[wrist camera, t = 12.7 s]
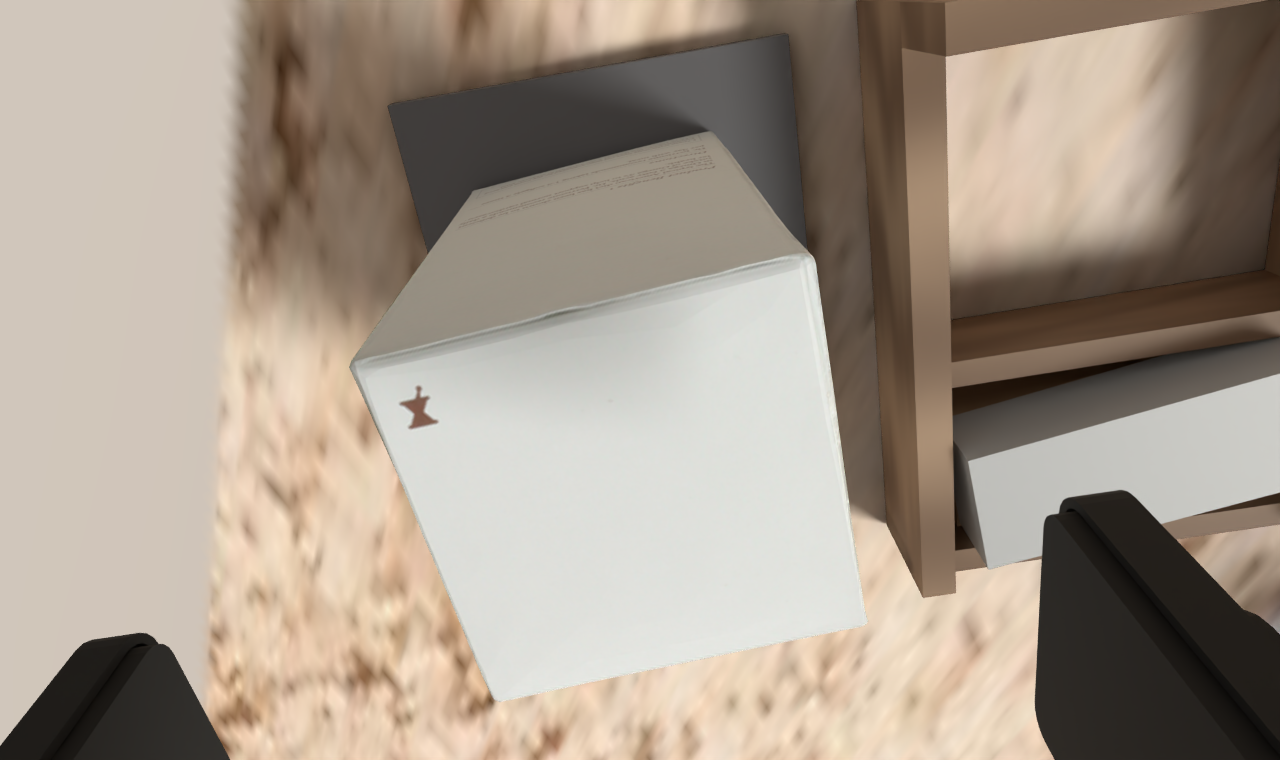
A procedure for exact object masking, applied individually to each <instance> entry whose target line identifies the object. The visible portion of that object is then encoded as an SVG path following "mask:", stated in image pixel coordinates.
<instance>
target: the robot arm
mask: <svg viewBox="0 0 1280 760" xmlns="http://www.w3.org/2000/svg"><path fill="white" fill-rule="evenodd" d="M1035 711H1036V717H1037V721H1038V725H1039V728H1040V731H1041V734H1042V736H1043V738H1044V740H1045V742H1046V744H1047V746H1048V748H1049V750H1050V752H1051V754H1052V755H1053V757H1054V759H1055V760H1280V634H1279V633H1278V632H1277V631H1276V630H1275V629H1274V628H1273V627H1272V626H1270V625H1269V624H1268V623H1267V622H1266V621H1264V620H1263V619H1262V618H1261V617H1259V616H1258V615H1256V614H1253V613H1251V612H1248V611H1246V610H1243V609H1242V608H1241V607H1240V606H1239V605H1238V604H1237V603H1236V602H1235V601H1234V600H1233V599H1232V598H1231V597H1230V596H1229V595H1228V593H1227V592H1226V591H1225V590H1224V589H1223V588H1222V587H1221V586H1220V585H1219V584H1218V583H1217V582H1216V581H1215V580H1214V579H1213V578H1212V577H1211V576H1210V575H1209V574H1208V573H1207V572H1206V570H1205V569H1204V568H1203V567H1202V566H1201V565H1200V564H1199V563H1198V562H1197V561H1196V560H1195V559H1194V558H1193V557H1192V556H1191V555H1190V554H1189V553H1188V552H1187V551H1186V550H1185V549H1184V548H1183V546H1182V545H1181V544H1180V543H1179V542H1178V541H1177V540H1176V539H1175V538H1174V537H1173V536H1172V535H1171V534H1170V533H1169V532H1168V531H1167V530H1166V529H1165V528H1164V527H1163V526H1162V525H1161V523H1160V522H1159V521H1158V520H1157V519H1156V518H1155V517H1154V516H1153V515H1152V514H1151V513H1150V512H1149V511H1148V510H1147V509H1146V508H1145V507H1144V506H1143V505H1142V504H1141V503H1140V502H1139V501H1138V499H1137V498H1136V497H1135V496H1133V495H1132V494H1131V493H1129V492H1128V491H1125V490H1116V491H1109V492H1102V493H1095V494H1088V495H1082V496H1075V497H1068V498H1066V499H1064V500H1063V501H1062V503H1061V505H1060V509H1059V513H1058V514H1052V515H1048V516H1047V517H1046V519H1045V521H1044V527H1043V546H1042V566H1041V587H1040V607H1039V627H1038V648H1037V668H1036V689H1035ZM0 760H230V759H229V757H228V755H227V753H226V751H225V749H224V747H223V745H222V744H221V742H220V740H219V738H218V736H217V734H216V732H215V730H214V729H213V727H212V725H211V723H210V721H209V719H208V717H207V715H206V714H205V712H204V710H203V708H202V706H201V704H200V702H199V700H198V699H197V697H196V695H195V693H194V691H193V689H192V687H191V686H190V684H189V682H188V680H187V678H186V676H185V675H184V673H183V670H182V669H181V667H180V665H179V663H178V661H177V659H176V657H175V655H174V654H173V652H172V651H171V650H170V648H169V647H167V646H166V645H164V644H158V643H157V642H156V640H155V639H154V638H153V637H152V636H150V635H148V634H146V633H136V634H129V635H123V636H115V637H108V638H102V639H94V640H91V641H88V642H86V643H83V644H82V645H81V646H80V647H79V648H78V649H77V650H76V651H75V652H74V653H73V655H72V656H71V657H70V658H69V660H68V661H67V662H66V664H65V665H64V666H63V667H62V669H61V670H60V671H59V672H58V674H57V675H56V676H55V677H54V679H53V680H52V681H51V682H50V684H49V685H48V686H47V687H46V689H45V690H44V691H43V693H42V694H41V695H40V696H39V698H38V699H37V700H36V701H35V703H34V704H33V705H32V706H31V708H30V709H29V710H28V711H27V713H26V714H25V715H24V716H23V718H22V719H21V720H20V722H19V723H18V724H17V725H16V727H15V728H14V729H13V731H12V732H11V733H10V734H9V736H8V737H7V738H6V739H5V741H4V742H3V743H2V745H1V746H0Z"/></svg>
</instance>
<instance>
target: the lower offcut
mask: <svg viewBox="0 0 1280 760" xmlns="http://www.w3.org/2000/svg"><path fill="white" fill-rule="evenodd" d="M1159 356H1163V355H1159ZM1159 356H1153V357H1147V358H1140V359H1134V360H1127V361H1121V362H1115V363H1108V364H1102V365H1095V366H1089V367H1083V368H1076V369H1070V370H1063V371H1057V372H1051V373H1044V374H1038V375H1031V376H1025V377H1019V378H1012V379H1006V380H1000V381H993V382H987V383H981V384H975V385H968V386H962V387H956V388H952V416H954V415H958V414H961V413H965V412H968V411H972V410H975V409H978V408H982V407H985V406H989V405H992V404H996V403H999V402H1003V401H1006V400H1010V399H1013V398H1017V397H1020V396H1024V395H1027V394H1031V393H1034V392H1038V391H1041V390H1045V389H1048V388H1051V387H1055V386H1058V385H1062V384H1065V383H1069V382H1072V381H1076V380H1079V379H1083V378H1086V377H1090V376H1093V375H1097V374H1100V373H1104V372H1107V371H1111V370H1114V369H1118V368H1121V367H1124V366H1128V365H1131V364H1135V363H1138V362H1142V361H1145V360H1149V359H1152V358H1156V357H1159ZM954 522H955V523H956V525H957V526H961V524H960V522H959V517H958V512H957V507H956V501H955V496H954Z"/></svg>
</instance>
